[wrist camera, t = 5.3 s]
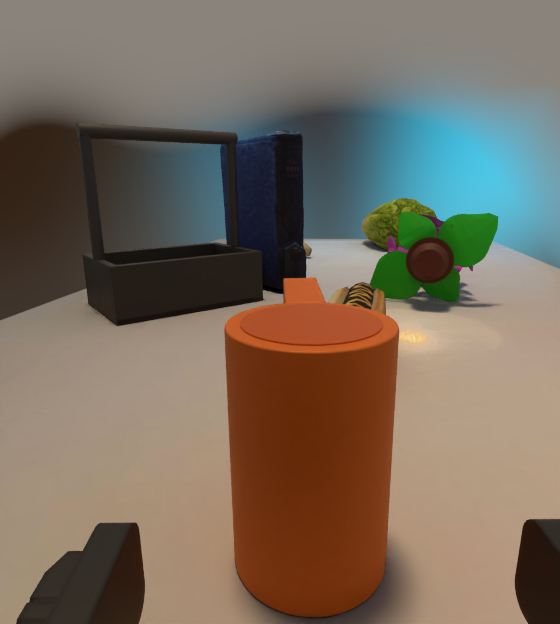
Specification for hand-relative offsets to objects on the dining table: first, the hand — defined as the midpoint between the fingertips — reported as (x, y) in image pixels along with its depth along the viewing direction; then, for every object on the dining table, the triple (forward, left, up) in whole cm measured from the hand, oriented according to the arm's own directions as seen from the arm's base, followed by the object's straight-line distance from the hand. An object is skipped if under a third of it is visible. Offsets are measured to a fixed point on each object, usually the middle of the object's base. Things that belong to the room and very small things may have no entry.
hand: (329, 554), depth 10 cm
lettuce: (+93, +36, -6) cm, 100 cm away
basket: (+30, +38, -6) cm, 49 cm away
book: (+44, +35, -6) cm, 57 cm away
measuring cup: (+7, +5, -6) cm, 11 cm away
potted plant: (+58, +16, -6) cm, 61 cm away
